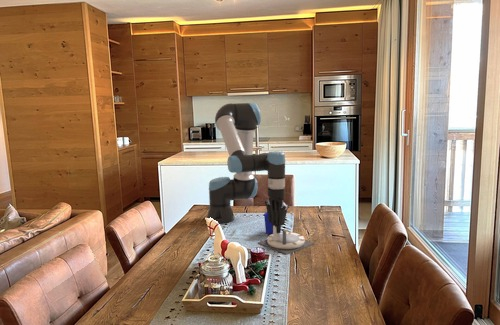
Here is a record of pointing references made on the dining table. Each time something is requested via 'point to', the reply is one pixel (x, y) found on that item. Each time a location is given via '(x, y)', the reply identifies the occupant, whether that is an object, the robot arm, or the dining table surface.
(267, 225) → the mug
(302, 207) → the dining table surface
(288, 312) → the dining table surface
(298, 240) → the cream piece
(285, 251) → the bearing plate
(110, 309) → the dining table surface
